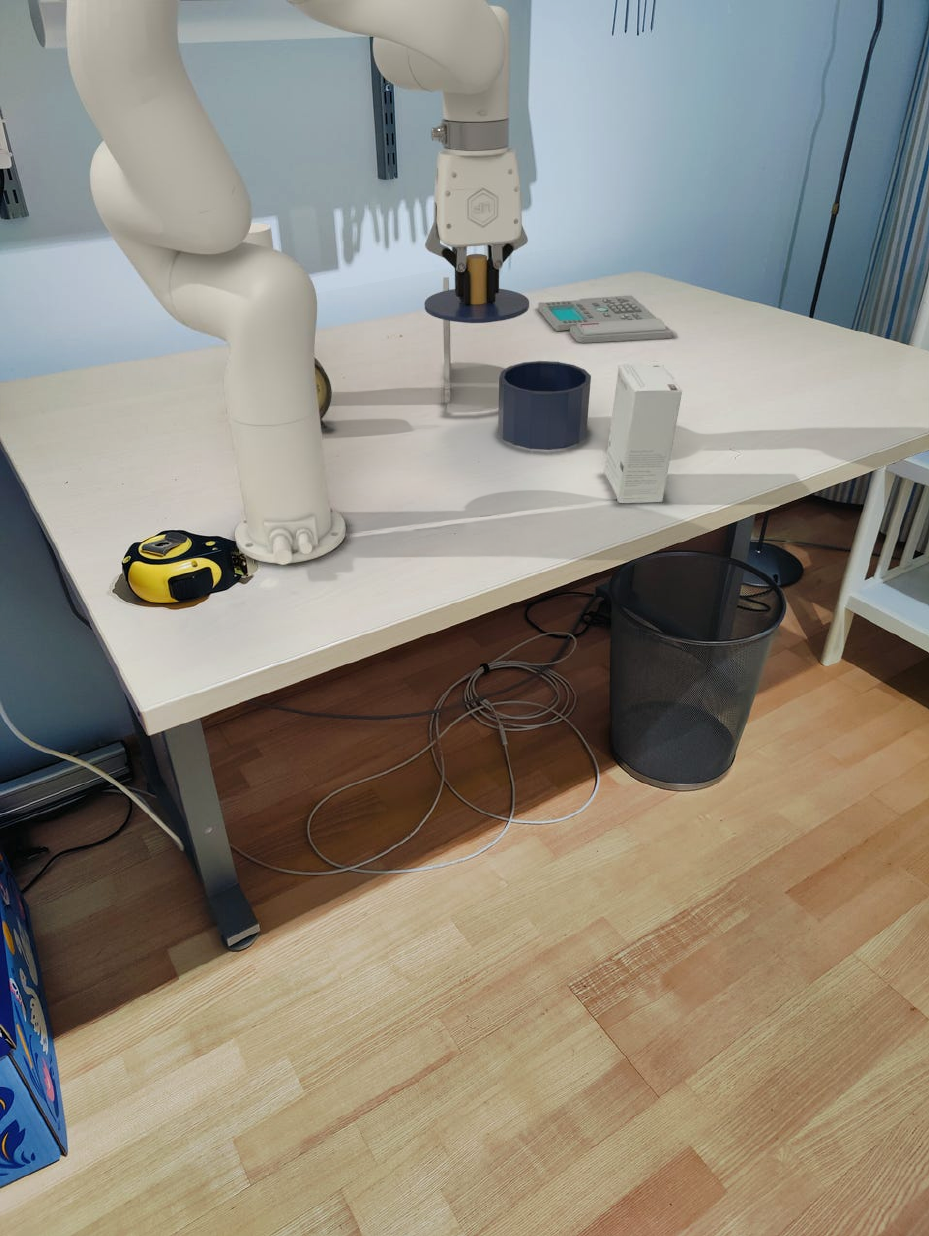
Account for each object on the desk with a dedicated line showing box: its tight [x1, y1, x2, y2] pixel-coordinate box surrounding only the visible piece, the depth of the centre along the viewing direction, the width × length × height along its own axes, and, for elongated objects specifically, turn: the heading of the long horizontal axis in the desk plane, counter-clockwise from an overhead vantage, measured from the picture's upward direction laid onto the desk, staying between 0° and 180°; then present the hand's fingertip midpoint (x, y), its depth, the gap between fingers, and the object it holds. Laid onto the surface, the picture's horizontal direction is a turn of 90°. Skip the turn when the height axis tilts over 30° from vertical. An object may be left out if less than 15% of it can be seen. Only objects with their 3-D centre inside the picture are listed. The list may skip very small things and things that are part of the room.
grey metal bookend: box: [442, 276, 506, 414], centre depth 133 cm, size 22×13×17 cm, turn 0°
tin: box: [497, 360, 592, 451], centre depth 121 cm, size 12×12×8 cm
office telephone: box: [537, 295, 673, 344], centre depth 165 cm, size 23×3×20 cm
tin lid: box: [424, 253, 530, 324], centre depth 109 cm, size 13×13×7 cm
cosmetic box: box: [603, 364, 683, 504], centre depth 105 cm, size 8×6×15 cm
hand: (477, 299), depth 110 cm, fingers closed on tin lid, 2 cm apart
